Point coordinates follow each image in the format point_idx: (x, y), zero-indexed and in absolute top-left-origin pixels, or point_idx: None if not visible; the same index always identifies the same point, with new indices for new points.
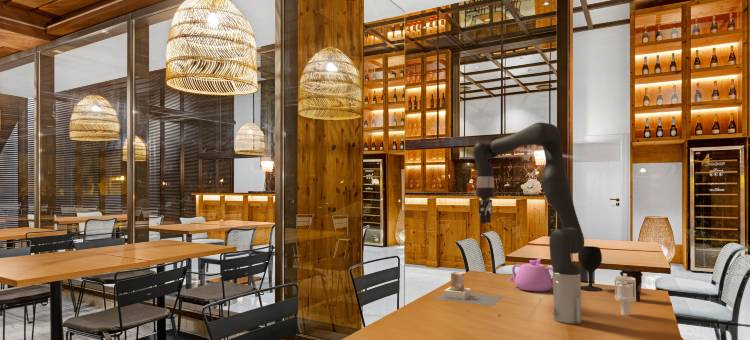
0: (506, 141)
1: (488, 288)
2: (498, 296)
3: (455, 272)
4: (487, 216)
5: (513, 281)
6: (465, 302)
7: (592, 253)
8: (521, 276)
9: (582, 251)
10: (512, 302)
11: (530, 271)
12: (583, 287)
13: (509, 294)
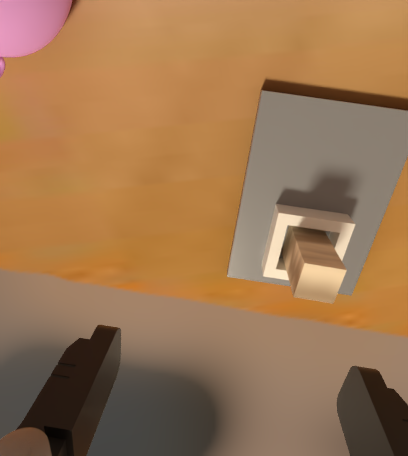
0: None
1: (89, 160)
2: (265, 107)
3: (305, 291)
4: (91, 426)
5: (4, 65)
6: (385, 207)
7: None
8: (36, 14)
9: None
10: (289, 48)
11: None
12: None
13: (156, 72)
